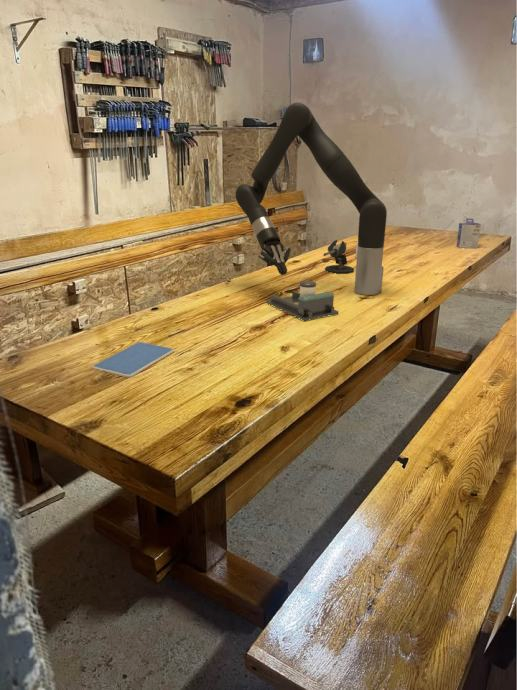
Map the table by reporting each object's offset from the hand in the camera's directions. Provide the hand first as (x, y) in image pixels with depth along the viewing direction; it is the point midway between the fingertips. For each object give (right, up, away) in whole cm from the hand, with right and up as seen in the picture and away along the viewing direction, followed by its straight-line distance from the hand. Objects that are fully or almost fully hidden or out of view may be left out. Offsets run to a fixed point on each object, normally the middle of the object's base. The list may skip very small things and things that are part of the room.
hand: (284, 273), depth 187 cm
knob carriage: (+7, -12, -8) cm, 16 cm away
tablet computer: (-41, -29, -46) cm, 68 cm away
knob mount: (+5, -12, -5) cm, 14 cm away
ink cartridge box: (+100, +26, +94) cm, 140 cm away
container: (+42, +17, +70) cm, 83 cm away
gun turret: (+24, +6, +43) cm, 50 cm away
